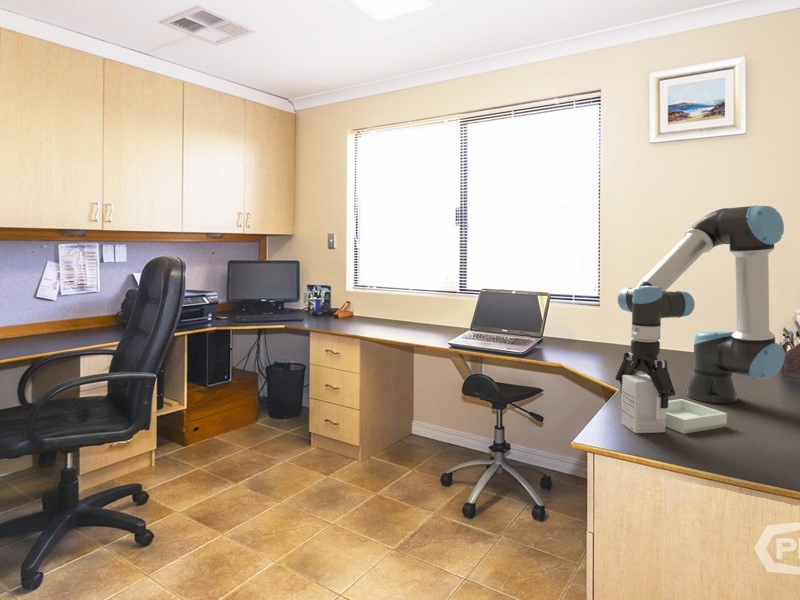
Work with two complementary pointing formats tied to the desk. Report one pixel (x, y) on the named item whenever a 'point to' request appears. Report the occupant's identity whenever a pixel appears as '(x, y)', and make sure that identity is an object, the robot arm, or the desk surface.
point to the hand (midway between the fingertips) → (642, 412)
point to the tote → (693, 417)
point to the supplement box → (640, 405)
